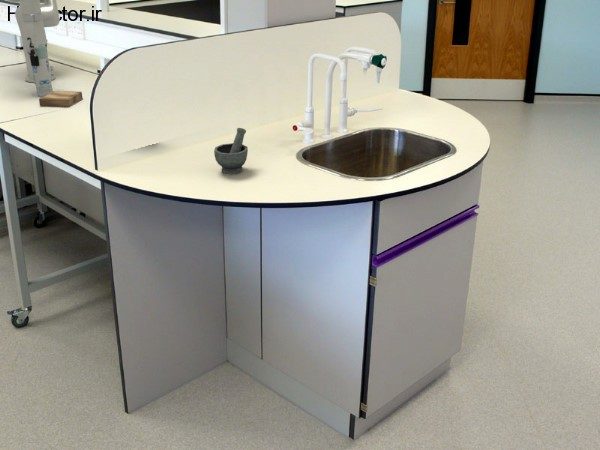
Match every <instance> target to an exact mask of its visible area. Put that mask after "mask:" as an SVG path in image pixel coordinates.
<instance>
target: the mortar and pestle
mask: <svg viewBox="0 0 600 450" xmlns="http://www.w3.org/2000/svg"><path fill="white" fill-rule="evenodd" d="M246 133H247V130H246V129H245V128H242V127H237V128H236V134H235V137H234V140H233V142H231V143H222V144H220V145H217V146H215V148H214V152H213V154H214V159H215V161H216V163H217V164H218V165H219V166H220V167H221V173H223V174H224V175H228V176H229V175H230V176H231V175H239V174H241V173H243V166H244V165H245V163H246V161H247V159H248V152H249V151H248V150H249V149H248V146H247V145H245V144H243V142H244V139H245V134H246Z"/></svg>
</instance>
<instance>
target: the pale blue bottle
mask: <svg viewBox="0 0 600 450" xmlns="http://www.w3.org/2000/svg"><path fill="white" fill-rule="evenodd" d="M31 48H34V47H31ZM33 52H34V50H33ZM47 53H48V50H47V51H46V46H45V44H43V45H41V46H39V48H37V56H38V59H39V66H32V70H33V75H34V81H35V82H34V86H35V91H36V95H37V97H39V98H41V97H43V96H45V95H47V94H49V93H50V92H52V91H54V90H53V84H52V80H51V77H50V70H49V65H50V63H49V64H48V59H49V57H48V58H47Z"/></svg>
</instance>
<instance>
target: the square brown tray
mask: <svg viewBox="0 0 600 450" xmlns="http://www.w3.org/2000/svg"><path fill="white" fill-rule="evenodd" d="M83 99H84V98H83V93H82V91H73V90H70V91H68V90H65V91H64V90H53V91H52V92H50V93H49V94H47V95H45V96H43V97H39V98H38V103H39V106H40V107H42V108H43V107H44V108H46V107H47V108H49V107H50V108H71V107H72V106H74V105H76V104H77V103H79V102H80V101H82V100H83Z"/></svg>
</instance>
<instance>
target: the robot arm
mask: <svg viewBox="0 0 600 450" xmlns="http://www.w3.org/2000/svg"><path fill="white" fill-rule="evenodd" d="M6 1H7V2H8V3H11V4H12V3H13V4H14V3H15V4H16V3H19V6H18V7H16V9H15V11H14V16H15V20H16V23H17V26H18V29H19V33H20V38H21V44H22V48H23V53H24V54H23V55H24V58H25V65H26V70H27V75H26V77H24V81H26V82H28V83H35V81H34V75H33V70H32V66H39V59H38V56H37V48H39V46H41V45H43V44H45V46H46V51H47V58H48V64H49V70H50V77H51V81H52V80H55V79H56V75H55V74H53V73H52V71H54V70H55V68H54V66H52V65H51V64H50V60H49V54H48V39H47V34H46V30H45V28H52V27H57V26H58V25H59V24H60V14H59V8H58V4H57V0H6ZM31 47H34V48H31ZM33 50H34V52H33Z"/></svg>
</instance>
